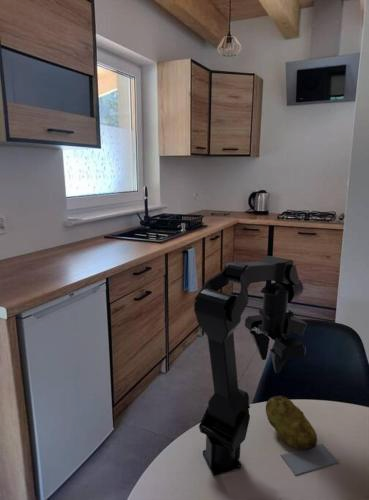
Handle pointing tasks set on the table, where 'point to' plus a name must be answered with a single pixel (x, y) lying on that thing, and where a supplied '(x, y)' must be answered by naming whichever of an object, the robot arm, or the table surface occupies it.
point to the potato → (290, 423)
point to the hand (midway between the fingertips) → (270, 365)
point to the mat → (309, 459)
